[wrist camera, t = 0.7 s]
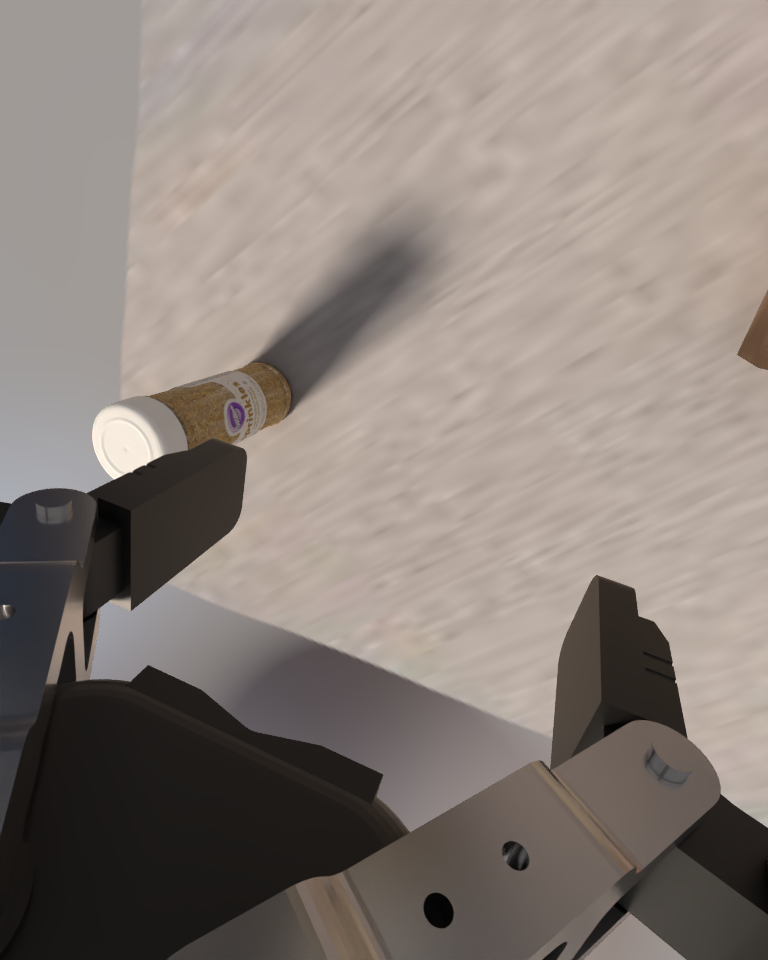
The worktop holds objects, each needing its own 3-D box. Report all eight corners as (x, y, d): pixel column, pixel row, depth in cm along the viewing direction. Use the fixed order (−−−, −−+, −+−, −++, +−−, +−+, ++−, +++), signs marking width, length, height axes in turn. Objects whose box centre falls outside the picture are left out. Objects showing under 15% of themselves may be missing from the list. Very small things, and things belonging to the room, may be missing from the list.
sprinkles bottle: (302, 415, 39) (178, 482, 27) (250, 431, 41) (113, 500, 29) (278, 351, 38) (138, 393, 26) (226, 370, 40) (73, 417, 28)
